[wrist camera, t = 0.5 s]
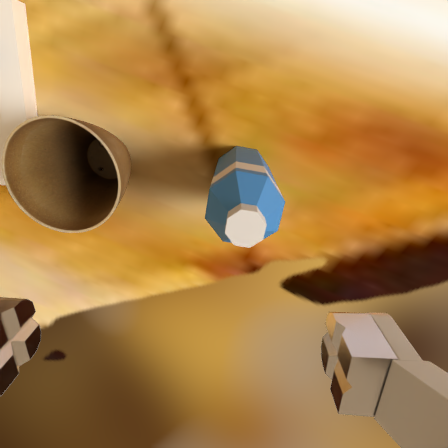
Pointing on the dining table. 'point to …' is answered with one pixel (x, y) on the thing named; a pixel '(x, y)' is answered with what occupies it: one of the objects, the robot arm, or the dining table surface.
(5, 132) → the switch plate
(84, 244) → the dining table surface
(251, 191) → the water bottle
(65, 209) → the plant pot
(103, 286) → the dining table surface
